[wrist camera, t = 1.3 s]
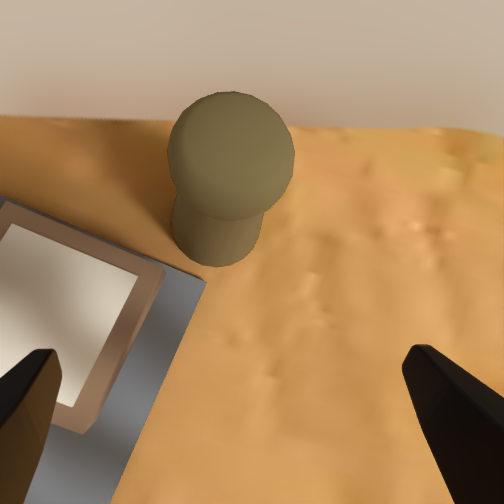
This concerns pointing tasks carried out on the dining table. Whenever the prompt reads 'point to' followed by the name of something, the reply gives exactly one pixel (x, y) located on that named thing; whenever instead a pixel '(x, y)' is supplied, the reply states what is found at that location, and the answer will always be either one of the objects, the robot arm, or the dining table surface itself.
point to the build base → (88, 343)
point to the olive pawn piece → (226, 174)
